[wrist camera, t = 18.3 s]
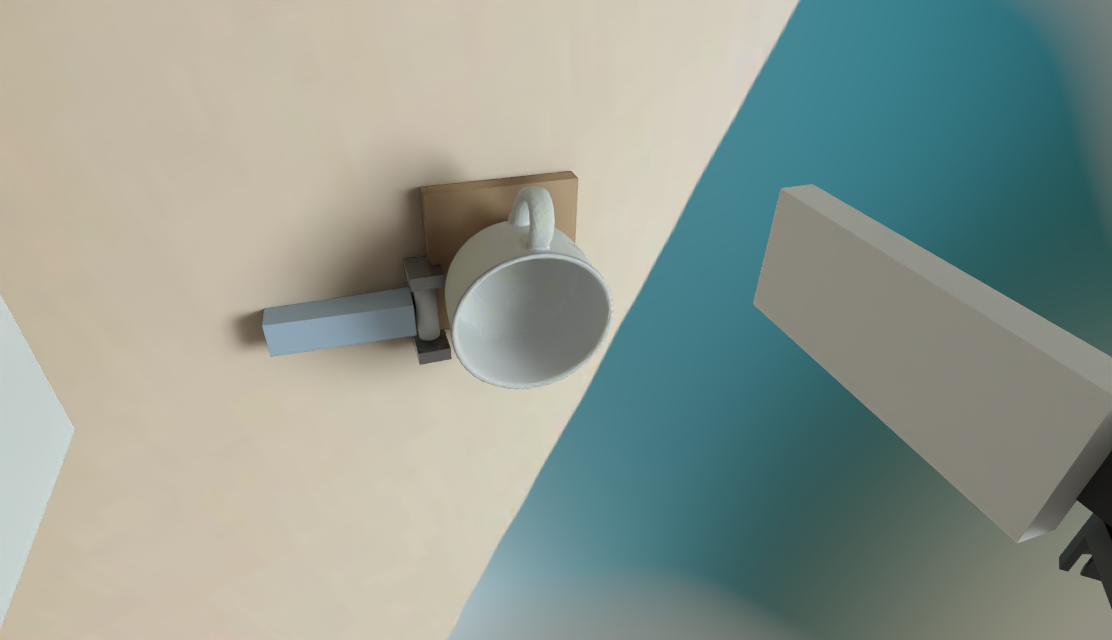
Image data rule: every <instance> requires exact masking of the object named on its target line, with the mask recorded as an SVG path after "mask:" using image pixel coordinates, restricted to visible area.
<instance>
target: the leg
mask: <svg viewBox="0 0 1112 640" xmlns="http://www.w3.org/2000/svg"><path fill="white" fill-rule="evenodd" d="M414 299H415V308H416V316H417V325H418V333H419V337H420V338H421V339H423V340H434V339H436V338H438V337H439V335H440V328H439V317H438V306H437V296H436V288H434V289H428V290H421V291H415V292H414ZM262 328H263V331H264V335H265V338H266V342H267V345H268V349H269V352H270V356H271V357H272V356H279V355H286V354H293V353H300V352H306V351H313V350H320V349H327V348H333V347H340V346H347V345H354V344H361V343H367V342H374V341H381V340H388V339H395V338H401V337H408V336H415V335H417V332H416V324H415V315H414V307H413V302H412V297H411V292H410V288H409V287H405V288H399V289H392V290H385V291H379V292H372V293H366V294H359V295H352V296H346V297H339V298H332V299H326V300H319V301H312V302H306V303H299V304H292V305H286V306H279V307H272V308H266V309H264V314H263V322H262Z"/></svg>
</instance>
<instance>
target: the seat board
mask: <svg viewBox="0 0 1112 640" xmlns="http://www.w3.org/2000/svg"><path fill="white" fill-rule="evenodd" d="M530 186H539V187H542V188H544V189H545V190H547V191H548V193H549V195H550V197H551V199H552V203H553V207H554V218H555V224H554V227H555V228H557V229H558V230H560V231H562V232H563V233H564V234H566V235H567V236H568V237H569V238H570V239H571V240H572V241H573V242H574V243H575V233H576V213H577V193H578V177H577V176H576V175H575V174H574V173H573V172H572V171H568V172H558V173H549V174H539V175H530V176H520V177H511V178H502V179H492V180H483V181H473V182H464V183H454V184H445V185H435V186H426V187H420V193H421V203H422V213H423V223H424V233H425V243H426V253H427V258H428V260H429V263H430V265H434V264H440V265H441V267H442V270H443V272H444V275H445V284H446V278H447V274H448V271H449V267H450V265H451V263H452V261H453V259H454V257H455V256H456V254H457V252H458V251H459V250H460V248H461V247H462V246H463V245H464V244H465V243H466V242H467V241H468V240H469V239H470V238H471V237H472V236H474V235H475V234H477V233H478V232H480V231H482V230H483V229H485V228H487V227H489V226H491V225H494V224H497V223H501V222H504V221H508V217H509V214H510V213H511V212H512V208H513V204H514V201H515V198H516V196H517V194H518V192H519V191H520V190H521V189H522V188H525V187H530ZM436 296H437V306H438V317H439V328H440V330H443V329H448V328H450V324H449V319H448V314H447V308H446V301H445V287H441V288H436Z"/></svg>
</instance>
